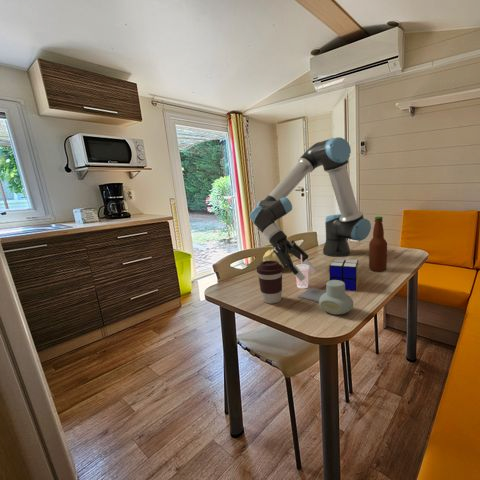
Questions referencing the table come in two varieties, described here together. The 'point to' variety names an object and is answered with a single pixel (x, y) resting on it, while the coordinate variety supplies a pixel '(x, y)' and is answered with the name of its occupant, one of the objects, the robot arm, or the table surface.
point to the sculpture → (271, 257)
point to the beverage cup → (304, 270)
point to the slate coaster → (312, 294)
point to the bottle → (378, 248)
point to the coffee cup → (270, 281)
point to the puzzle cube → (345, 272)
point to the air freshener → (336, 298)
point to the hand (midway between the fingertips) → (309, 276)
